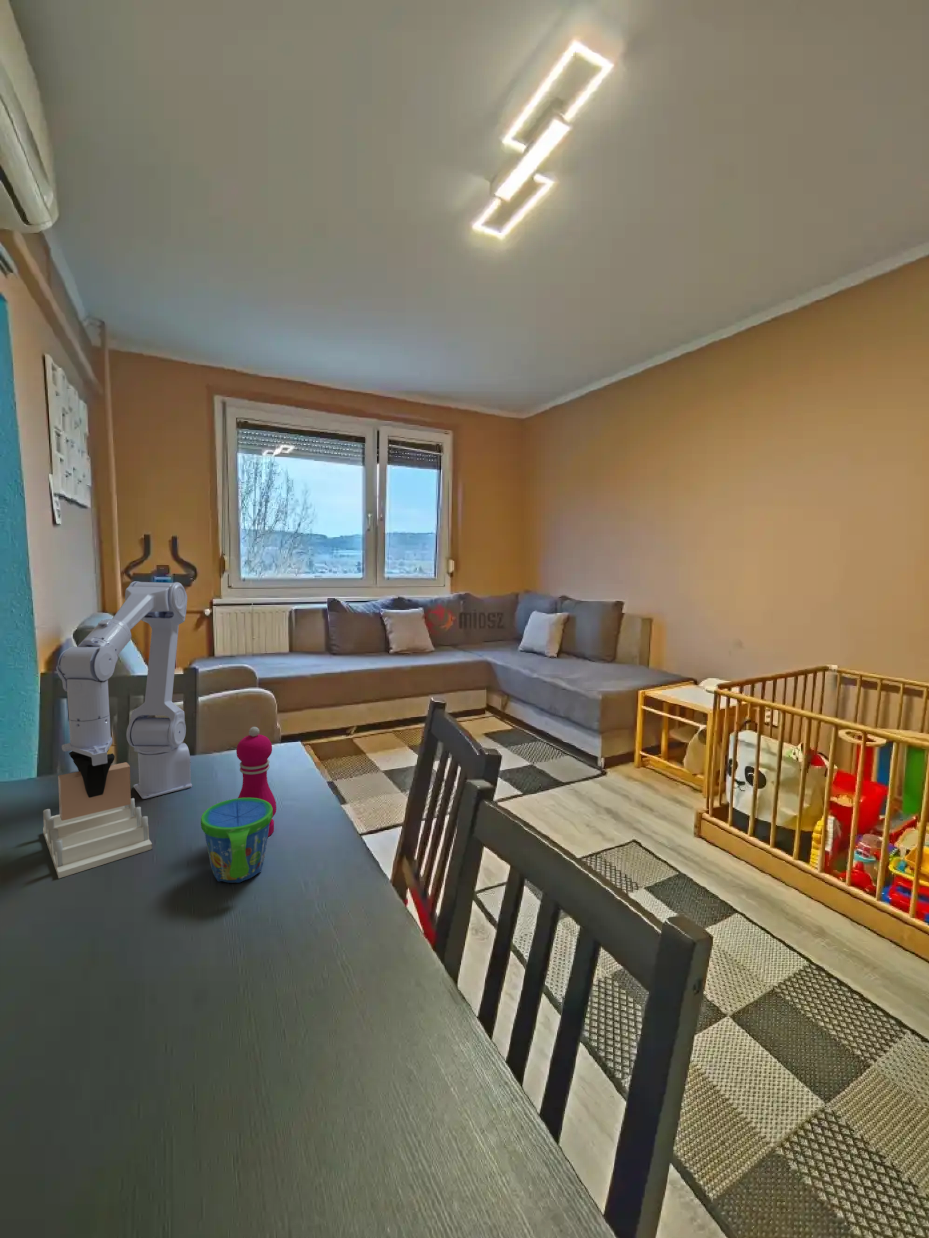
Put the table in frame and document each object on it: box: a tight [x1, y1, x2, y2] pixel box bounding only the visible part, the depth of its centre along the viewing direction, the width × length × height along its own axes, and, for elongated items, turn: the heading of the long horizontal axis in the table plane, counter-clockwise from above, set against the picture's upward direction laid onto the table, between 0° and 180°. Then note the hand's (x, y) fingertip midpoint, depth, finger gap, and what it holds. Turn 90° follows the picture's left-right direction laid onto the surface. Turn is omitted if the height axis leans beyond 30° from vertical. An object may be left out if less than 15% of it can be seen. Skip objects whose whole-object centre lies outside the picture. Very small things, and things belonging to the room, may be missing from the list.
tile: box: [57, 761, 132, 821], centre depth 95 cm, size 10×2×7 cm, turn 134°
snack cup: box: [200, 797, 274, 884], centre depth 87 cm, size 16×10×10 cm
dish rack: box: [42, 797, 153, 879], centre depth 95 cm, size 13×18×5 cm
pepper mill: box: [235, 726, 277, 838], centre depth 99 cm, size 7×7×20 cm
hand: (93, 792), depth 94 cm, fingers closed on tile, 2 cm apart
